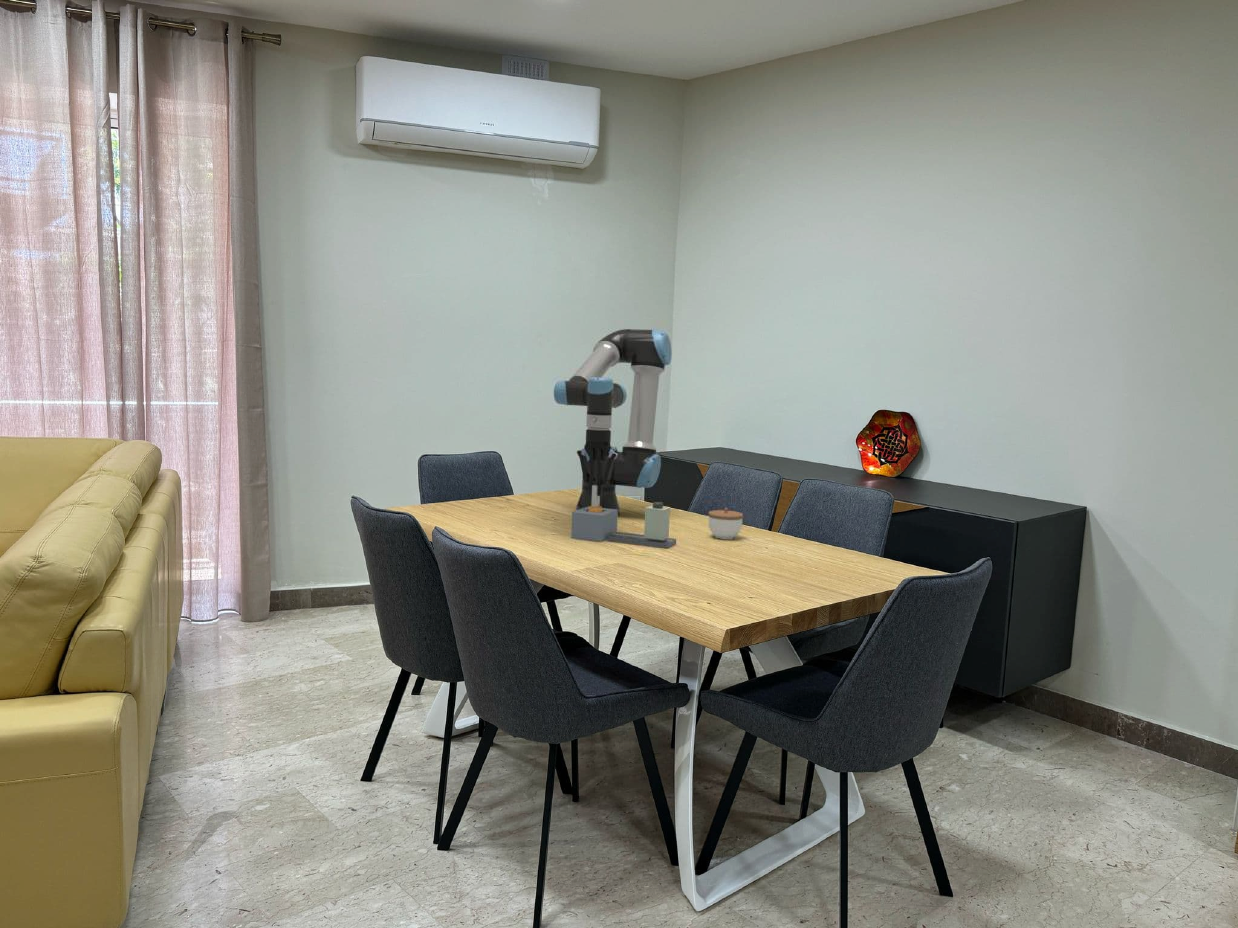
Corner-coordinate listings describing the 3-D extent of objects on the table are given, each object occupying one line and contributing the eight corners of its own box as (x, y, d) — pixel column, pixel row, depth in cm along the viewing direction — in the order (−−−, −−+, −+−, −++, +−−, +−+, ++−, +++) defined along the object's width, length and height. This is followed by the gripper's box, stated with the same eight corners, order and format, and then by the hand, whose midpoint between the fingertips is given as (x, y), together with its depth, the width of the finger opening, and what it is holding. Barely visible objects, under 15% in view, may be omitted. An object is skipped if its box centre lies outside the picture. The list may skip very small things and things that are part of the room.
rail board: (607, 541, 281) (607, 535, 281) (617, 536, 288) (617, 531, 288) (667, 548, 274) (667, 543, 274) (676, 543, 281) (676, 538, 281)
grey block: (571, 538, 283) (572, 511, 282) (587, 531, 294) (588, 506, 293) (601, 541, 279) (602, 515, 278) (616, 535, 290) (617, 509, 289)
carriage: (643, 537, 278) (645, 502, 277) (649, 535, 283) (651, 500, 281) (663, 540, 276) (664, 504, 274) (668, 537, 280) (670, 502, 279)
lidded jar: (743, 541, 289) (745, 511, 288) (708, 540, 289) (710, 510, 288) (739, 534, 300) (741, 506, 298) (706, 533, 300) (707, 504, 299)
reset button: (586, 526, 285) (586, 506, 284) (591, 524, 289) (592, 505, 288) (598, 527, 284) (598, 508, 283) (603, 525, 287) (604, 506, 287)
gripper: (573, 428, 282) (570, 505, 284) (614, 431, 277) (610, 510, 280) (583, 426, 288) (580, 502, 291) (623, 429, 284) (619, 506, 287)
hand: (595, 506), depth 285 cm, fingers closed
